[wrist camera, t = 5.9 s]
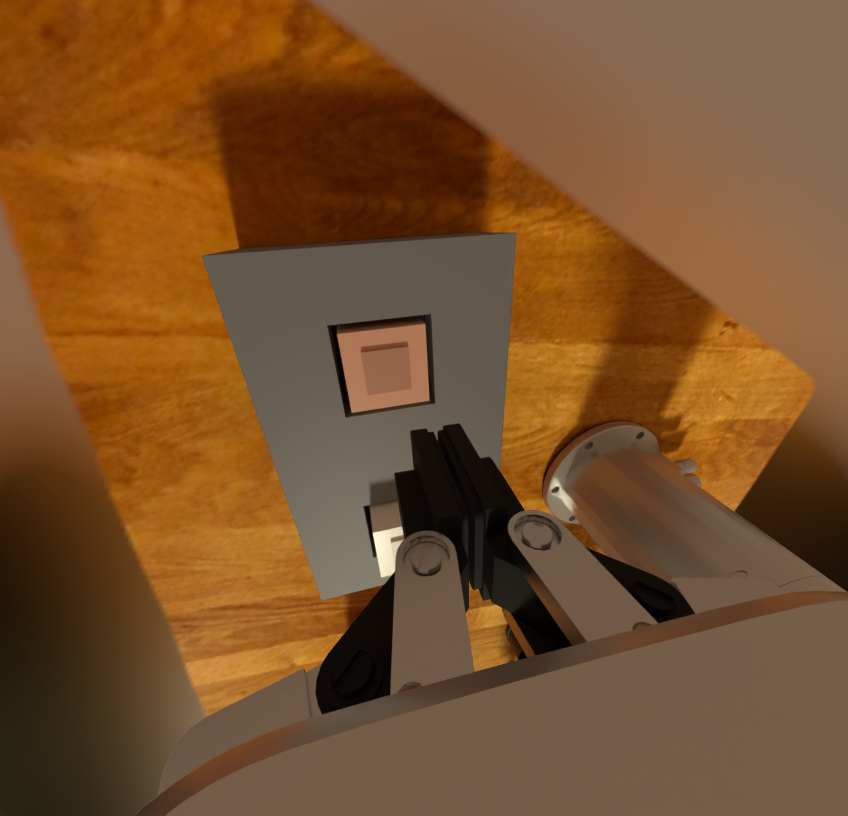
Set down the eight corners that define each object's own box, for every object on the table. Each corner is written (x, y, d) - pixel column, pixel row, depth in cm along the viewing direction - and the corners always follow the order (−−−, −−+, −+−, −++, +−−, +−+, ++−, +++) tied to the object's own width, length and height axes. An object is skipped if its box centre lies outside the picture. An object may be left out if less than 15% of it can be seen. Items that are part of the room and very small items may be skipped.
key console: (473, 232, 21) (516, 232, 16) (469, 506, 33) (493, 557, 28) (239, 248, 19) (201, 255, 14) (324, 537, 30) (321, 600, 25)
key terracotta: (413, 311, 19) (426, 324, 17) (418, 380, 21) (430, 402, 19) (337, 319, 19) (337, 335, 16) (350, 390, 21) (351, 414, 18)
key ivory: (430, 486, 24) (442, 520, 21) (433, 529, 26) (444, 565, 23) (368, 498, 23) (373, 535, 20) (376, 541, 25) (381, 580, 22)
